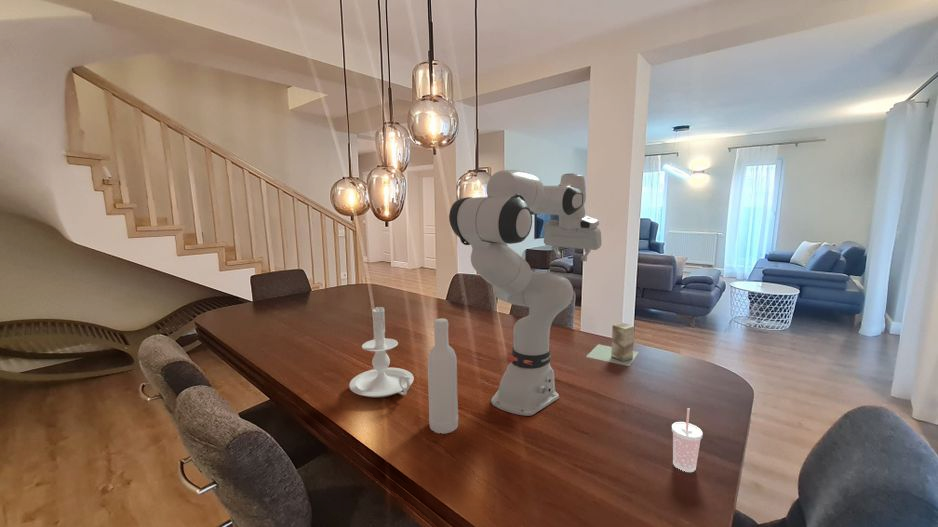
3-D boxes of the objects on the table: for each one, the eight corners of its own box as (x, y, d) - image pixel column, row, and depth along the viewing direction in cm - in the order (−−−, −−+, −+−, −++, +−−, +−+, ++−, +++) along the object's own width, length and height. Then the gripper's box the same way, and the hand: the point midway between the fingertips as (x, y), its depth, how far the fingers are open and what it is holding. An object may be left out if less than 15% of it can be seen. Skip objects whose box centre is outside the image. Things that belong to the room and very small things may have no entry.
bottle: (461, 431, 103) (459, 323, 98) (432, 436, 101) (428, 326, 96) (454, 415, 111) (451, 314, 106) (427, 420, 108) (423, 317, 104)
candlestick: (383, 418, 110) (377, 323, 106) (337, 391, 126) (331, 308, 122) (435, 391, 125) (432, 307, 121) (388, 370, 141) (385, 296, 137)
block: (632, 359, 147) (634, 326, 145) (623, 362, 144) (625, 328, 142) (620, 354, 152) (621, 322, 150) (611, 357, 149) (612, 325, 147)
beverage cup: (666, 454, 92) (670, 400, 90) (695, 459, 90) (700, 403, 88) (672, 471, 86) (676, 413, 84) (703, 477, 85) (708, 417, 83)
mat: (629, 367, 141) (629, 366, 141) (585, 357, 150) (585, 356, 150) (638, 353, 154) (638, 352, 154) (598, 345, 163) (598, 344, 163)
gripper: (540, 220, 138) (540, 258, 142) (597, 224, 126) (596, 264, 130) (548, 218, 143) (548, 254, 147) (603, 221, 131) (602, 260, 135)
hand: (571, 259), depth 138 cm, fingers open, 8 cm apart
